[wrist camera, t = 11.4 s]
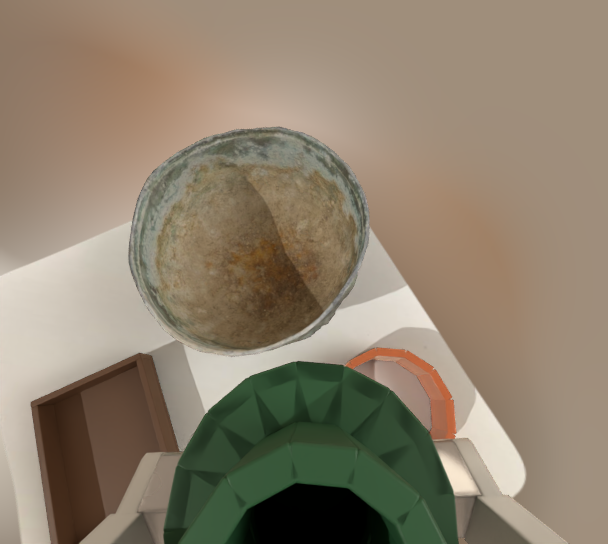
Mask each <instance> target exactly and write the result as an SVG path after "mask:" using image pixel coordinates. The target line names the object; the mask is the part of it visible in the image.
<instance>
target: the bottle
mask: <svg viewBox="0 0 608 544" xmlns="http://www.w3.org/2000/svg"><path fill="white" fill-rule="evenodd" d="M163 531H164V533H163V538H164V544H458V530H457V517H456V504H455V495H454V491H453V488H452V485H451V483H450V480H449V478H448V476H447V473H446V471H445V468H444V466H443V464H442V461H441V459H440V456H439V454H438V452H437V449H436V447H435V444H434V442H433V440H432V437H431V435H430V434H429V432H428V430H427V429H426V428H425V427H424V426H423V425H422V424H421V422H420V421H419V420H418V419H417V418H416V417H415V416H414V415H413V413H412V412H411V411H410V410H409V409H408V408H407V407H406V405H405V404H404V403H403V402H402V401H401V400H400V399H399V398H398V396H397V395H396V394H395V393H394V392H393V391H391V390H390V389H389V388H388V387H386V386H384V385H382V384H380V383H378V382H376V381H374V380H372V379H370V378H369V377H367V376H365V375H363V374H361V373H359V372H357V371H355V370H353V369H351V368H349V367H347V366H344V365H337V364H325V363H314V362H302V361H297V362H291V363H288V364H285V365H282V366H279V367H276V368H273V369H270V370H267V371H264V372H261V373H258V374H255V375H252V376H250V377H249V378H246V379H245V380H244V381H243V382H241V383H240V384H239V385H238V386H237V387H235V388H234V389H233V390H232V391H231V392H230V393H228V394H227V395H226V396H225V397H224V398H222V399H221V400H220V401H219V402H218V403H217V404H215V405H214V406H213V407H212V408H211V409H209V411H208V413H206V414H205V416H204V417H203V419H202V421H201V423H200V424H199V426H198V428H197V430H196V431H195V433H194V435H193V436H192V438H191V440H190V442H189V443H188V445H187V447H186V449H185V450H184V452H183V454H182V456H181V457H180V459H179V461H178V463H177V466H176V468H175V473H174V478H173V483H172V488H171V493H170V498H169V503H168V508H167V513H166V518H165V523H164V528H163Z"/></svg>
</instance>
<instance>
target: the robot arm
mask: <svg viewBox="0 0 608 544" xmlns="http://www.w3.org/2000/svg"><path fill="white" fill-rule="evenodd" d="M433 442H434V444H435V447H436V449H437V452H438V454H439V456H440V459H441V461H442V464H443V466H444V468H445V471H446V473H447V476H448V478H449V480H450V483H451V485H452V488H453V491H454V495H455V504H456V517H457V530H458V538H465V541H466V542H467V543H468V544H569V543H568V542H566V541H565V540H564V539H563V538H561V537H560V536H559V535H558V534H556V533H555V532H554V531H553V530H551V529H550V528H549V527H548V526H546V525H545V524H544V523H542V522H541V521H540V520H539V519H537V518H536V517H535V516H534V515H533V514H531V513H530V512H529V511H528V510H526V509H525V508H524V507H523V506H521V505H520V504H519V503H518V502H516V501H515V500H514V499H513V498H511V497H510V496H509V495H503V494H502V493H501V491H500V489H499V488H498V486H497V484H496V482H495V481H494V479H493V477H492V476H491V474H490V472H489V470H488V469H487V467H486V465H485V464H484V462H483V460H482V458H481V457H480V455H479V453H478V452H477V450H476V448H475V446H474V445H473V443H472V441H471V440H469V439H468V438H459V439H433ZM182 454H183V452H157V453H146V454H145V456H144V457H143V458H142V459H141V461H140V463H139V465H138V468H137V470H136V472H135V474H134V476H133V478H132V480H131V482H130V484H129V486H128V488H127V491H126V493H125V495H124V497H123V499H122V501H121V503H120V505H119V507H118V509H117V512H116V514H110V515H109V516H108V517H106V518H105V519H104V520H103V521H102V522H101V523H100V524H99V525H98V526H97V527H96V528H95V529H94V530H93V531H92V532H91V533H90V534H88V535H87V536H86V537H85V538H84V539H83V540H82V541H81V542H80V543H79V544H164V538H163V533H164V531H163V528H164V523H165V518H166V513H167V508H168V503H169V498H170V493H171V488H172V483H173V478H174V473H175V468H176V466H177V463H178V461H179V459H180V457H181V456H182Z"/></svg>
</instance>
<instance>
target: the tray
mask: <svg viewBox="0 0 608 544" xmlns="http://www.w3.org/2000/svg"><path fill="white" fill-rule="evenodd" d="M31 408H32V416H33V423H34V430H35V436H36V443H37V450H38V457H39V464H40V471H41V477H42V484H43V491H44V498H45V505H46V512H47V519H48V525H49V532H50V539H51V544H79V543H80V542H81V541H82V540H83V539H84V538H85V537H86V536H87V535H88V534H90V533H91V532H92V531H93V530H94V529H95V528H96V527H97V526H98V525H99V524H100V523H101V522H102V521H103V520H104V519H105V518H106V517H108V516H109V515H110V514H116V512H117V509H118V507H119V505H120V503H121V501H122V499H123V497H124V495H125V493H126V491H127V488H128V486H129V484H130V482H131V480H132V478H133V476H134V474H135V472H136V470H137V468H138V465H139V463H140V461H141V459H142V458H143V457H144V456H145V454H146V453H157V452H179V448H178V445H177V441H176V438H175V434H174V431H173V428H172V424H171V421H170V417H169V414H168V410H167V407H166V404H165V400H164V397H163V393H162V390H161V386H160V383H159V380H158V376H157V373H156V369H155V366H154V362H153V359H152V356H151V355H147V354H143V353H138V354H136V355H134V356H132V357H129V358H127V359H125V360H123V361H121V362H118V363H116V364H114V365H112V366H109V367H107V368H105V369H103V370H101V371H98V372H96V373H94V374H92V375H90V376H87V377H85V378H83V379H81V380H79V381H76V382H74V383H72V384H70V385H68V386H65V387H63V388H61V389H59V390H57V391H54V392H52V393H50V394H48V395H46V396H43V397H41V398H39V399H37V400H34V401H32V402H31Z"/></svg>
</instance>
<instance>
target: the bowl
mask: <svg viewBox="0 0 608 544" xmlns="http://www.w3.org/2000/svg"><path fill="white" fill-rule="evenodd" d="M368 240H369V208H368V204H367V200H366V196H365V193H364V191H363V189H362V187H361V185H360V184H359V182H358V180H357V178H356V176H355V174H354V173H353V171H352V170H351V168H350V167H349V166H348V165H347V164H346V163H345V162H344V161H343V160H342V159H341V158H340V157H339V156H338V155H337V154H336V153H335V152H334V151H333V150H331V149H330V148H328V147H327V146H326V145H325V144H323V143H322V142H320V141H319V140H317V139H315V138H313V137H312V136H309V135H307V134H305V133H302V132H298V131H293V130H290V129H286V128H282V127H271V128H255V129H236V130H232V131H229V132H226V133H222V134H217V135H213V136H210V137H206V138H203V139H202V140H200V141H198V142H196V143H194V144H192V145H190V146H188V147H186V148H185V149H183V150H181V151H179V152H177V153H176V154H174V155H173V156H172V157H170V158H169V159H168V160H166V161H165V162H164V163H162V164H161V165H160V166H159V167H158V168H157V169H155V170H154V171H153V172H152V174H151V175H150V176H149V177H148V179H147V180H146V182H145V184H144V186H143V188H142V190H141V192H140V195H139V198H138V200H137V204H136V208H135V212H134V216H133V221H132V228H131V235H130V242H129V265H130V269H131V273H132V276H133V279H134V281H135V283H136V287H137V289H138V291H139V293H140V295H141V297H142V299H143V301H144V303H145V306H146V307H147V308H148V310H149V311H150V313H151V314H152V315H153V317H154V318H155V319H156V320H157V322H158V323H159V324H160V325H161V327H162V328H163V329H164V330H165V331H166V332H167V333H168V334H170V335H171V336H172V337H174V338H175V339H176V340H177V341H179V342H181V343H183V344H185V345H187V346H189V347H191V348H193V349H195V350H198V351H200V352H205V353H212V354H218V355H224V356H230V357H234V356H243V355H252V354H258V353H261V352H265V351H269V350H273V349H276V348H279V347H282V346H285V345H287V344H290V343H293V342H297V341H300V340H303V339H306V338H308V337H311V335H313V334H314V333H315V332H316V331H317V330H319V329H320V328H321V326H323V325H326V324H328V323H329V321H330V320H331V318H332V317H333V316H334V314H335V311H336V309H337V308H338V307H339V305H340V304H341V302H342V301H343V299H344V298H345V297H346V296H347V295H348V294H349V292H350V291H351V290H352V288H353V287H354V284H355V281H356V278H357V272H358V270H359V268H360V266H361V263H362V260H363V258H364V255H365V252H366V248H367V245H368Z"/></svg>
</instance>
